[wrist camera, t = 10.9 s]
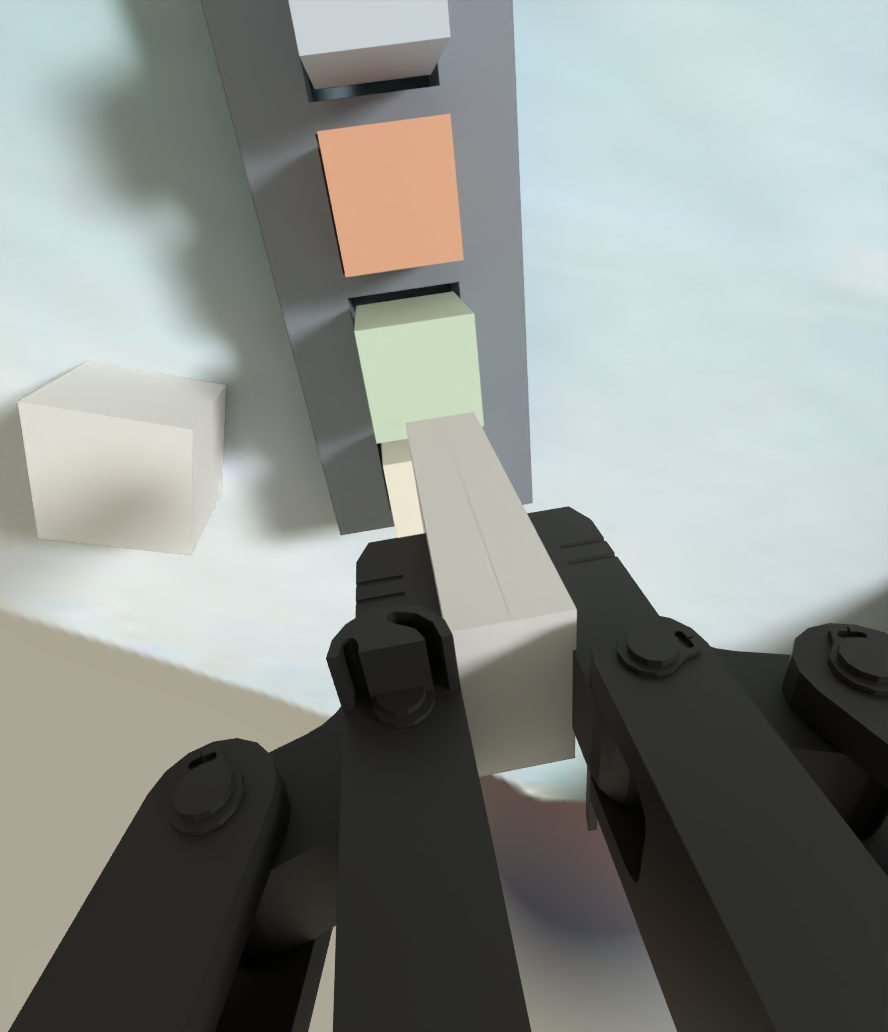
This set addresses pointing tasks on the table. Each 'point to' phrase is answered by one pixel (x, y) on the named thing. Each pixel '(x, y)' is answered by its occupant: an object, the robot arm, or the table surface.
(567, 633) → the robot arm
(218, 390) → the pale grey cube
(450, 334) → the key green
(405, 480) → the key ivory
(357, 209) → the key terracotta
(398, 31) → the key bluegrey
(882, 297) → the table surface
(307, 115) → the key panel
